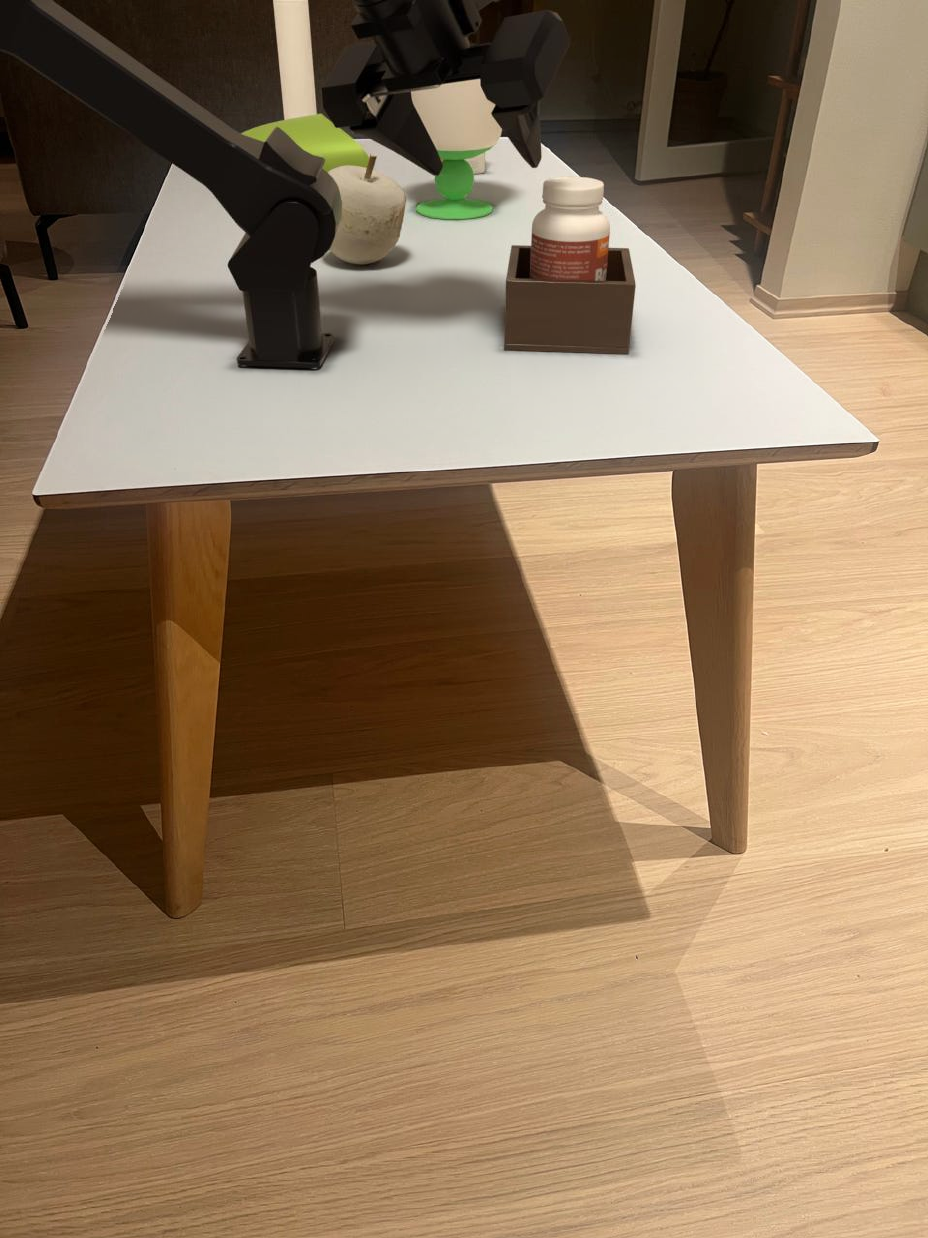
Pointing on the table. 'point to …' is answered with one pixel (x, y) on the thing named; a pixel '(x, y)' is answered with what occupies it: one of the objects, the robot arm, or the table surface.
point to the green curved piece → (317, 140)
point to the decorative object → (367, 213)
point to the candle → (295, 57)
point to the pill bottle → (570, 231)
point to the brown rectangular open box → (569, 308)
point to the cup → (457, 144)
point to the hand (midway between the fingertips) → (486, 167)
